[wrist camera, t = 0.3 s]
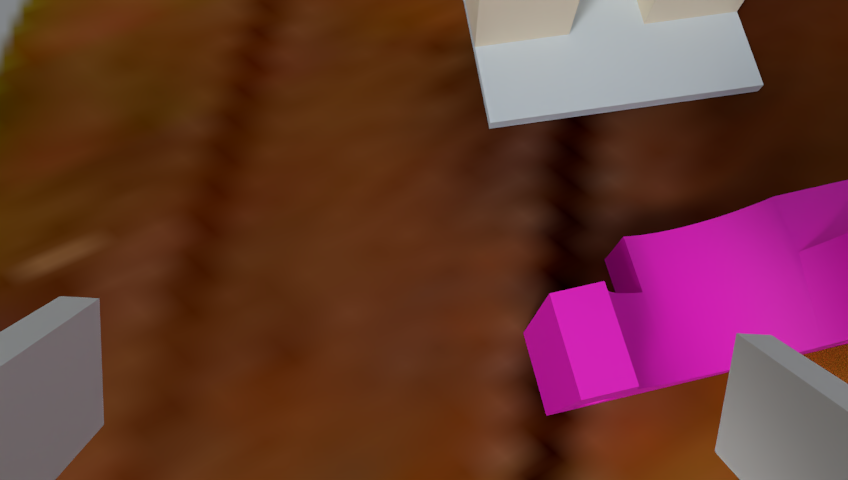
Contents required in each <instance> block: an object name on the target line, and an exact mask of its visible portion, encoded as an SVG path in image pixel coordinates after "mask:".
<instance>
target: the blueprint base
mask: <svg viewBox="0 0 848 480" xmlns="http://www.w3.org/2000/svg"><path fill="white" fill-rule="evenodd" d="M463 1H464V6H465V11H466V16H467V21H468V26H469V31H470V36H471V41H472V46H473V51H474V55H475V60H476V65H477V70H478V75H479V80H480V85H481V90H482V95H483V100H484V105H485V110H486V115H487V120H488V125H489V129H491V128H498V127H506V126H513V125H520V124H527V123H534V122H541V121H548V120H556V119H563V118H570V117H577V116H584V115H591V114H599V113H606V112H613V111H620V110H627V109H634V108H641V107H649V106H656V105H663V104H670V103H677V102H684V101H692V100H699V99H706V98H713V97H720V96H727V95H734V94H742V93H749V92H756V91H759V90H760V88H761V87H762V86H763V85H764V84H763V82H762V79H761V76H760V73H759V71H758V68H757V65H756V62H755V60H754V57H753V54H752V51H751V49H750V46H749V43H748V40H747V38H746V35H745V32H744V29H743V27H742V24H741V21H740V18H739V16H738V13H737V11H738V9H739V8H740V6H741V5H742V3H743V2H744V0H463Z"/></svg>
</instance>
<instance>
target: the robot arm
mask: <svg viewBox="0 0 848 480" xmlns="http://www.w3.org/2000/svg"><path fill="white" fill-rule="evenodd" d="M103 425H104V413H103V385H102V358H101V330H100V303H99V298H82V297H63V296H60V297H58V298H56V299H55V300H53V301H51V302H50V303H48V304H46V305H45V306H43V307H41V308H40V309H38V310H36V311H35V312H33V313H31V314H30V315H28V316H26V317H25V318H23V319H21V320H20V321H18V322H16V323H15V324H13V325H11V326H10V327H8V328H6V329H5V330H3V331H1V332H0V480H55V479H56V478H57V477H58V476H59V475H60V474H61V472H62V471H63V470H64V469H65V468H66V467H67V466H68V465H69V463H70V462H71V461H72V460H73V459H74V458H75V457H76V455H77V454H78V453H79V452H80V451H81V450H82V449H83V448H84V446H85V445H86V444H87V443H88V442H89V441H90V440H91V439H92V437H93V436H94V435H95V434H96V433H97V432H98V431H99V430H100V428H101V427H102V426H103ZM715 452H716V453H717V455H718V456H719V457H720V458H721V459H722V460H723V461H724V462H725V464H726V465H727V466H728V467H729V468H730V469H731V470H732V471H733V473H734V474H735V475H736V476H737V477H738V478H739V479H740V480H848V384H847V383H845V382H844V381H842V380H841V379H839V378H838V377H836V376H834V375H833V374H831V373H830V372H828V371H827V370H825V369H824V368H822V367H820V366H819V365H817V364H816V363H814V362H813V361H811V360H810V359H808V358H806V357H805V356H803V355H802V354H800V353H799V352H797V351H796V350H794V349H792V348H791V347H789V346H788V345H786V344H785V343H783V342H782V341H780V340H778V339H777V338H775V337H774V336H772V335H760V334H742V333H736V339H735V344H734V350H733V355H732V360H731V366H730V371H729V377H728V382H727V388H726V393H725V399H724V404H723V410H722V415H721V420H720V426H719V431H718V437H717V442H716V448H715Z"/></svg>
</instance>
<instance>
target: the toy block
mask: <svg viewBox="0 0 848 480" xmlns="http://www.w3.org/2000/svg"><path fill="white" fill-rule="evenodd" d="M605 263H606V266H607V269H608V272H609V275H610V278H611V281H612V284H613V287H614V290H615V293H614V292H610V291H608V290H607V287H606V283H605V281H602V282H597V283H593V284H589V285H584V286H580V287H575V288H571V289H567V290H562V291H558V292H554V293H549V295H548V296H547V298H546V299H545V301H544V302H543V304H542V305H541V307H540V308H539V310H538V311H537V313H536V314H535V316H534V318H533V319H532V321H531V322H530V324H529V325H528V327H527V328H526V330H525V331H524V333H523V334H524V337H525V341H526V344H527V348H528V351H529V355H530V359H531V362H532V366H533V369H534V373H535V376H536V380H537V384H538V387H539V391H540V394H541V398H542V401H543V405H544V409H545V412H546V416H548V415H552V414H556V413H560V412H564V411H569V410H573V409H577V408H581V407H585V406H590V405H594V404H598V403H602V402H606V401H610V400H615V399H619V398H623V397H627V396H631V395H635V394H640V393H644V392H648V391H652V390H656V389H660V388H665V387H669V386H673V385H677V384H681V383H685V382H690V381H694V380H698V379H702V378H706V377H711V376H715V375H719V374H723V373H727V372H729V371H730V366H731V360H732V355H733V350H734V344H735V339H736V333H742V334H760V335H772V336H774V337H775V338H777V339H778V340H780V341H782V342H783V343H785V344H786V345H788V346H789V347H791V348H792V349H794V350H796V351H797V352H799V353H800V354H806V353H811V352H815V351H819V350H823V349H827V348H831V347H836V346H840V345H844V344H848V180H844V181H840V182H835V183H831V184H827V185H822V186H818V187H813V188H809V189H804V190H800V191H795V192H791V193H787V194H782V195H778V196H774V197H771V198H769V199H766V200H764V201H761V202H759V203H756V204H754V205H751V206H748V207H746V208H743V209H740V210H737V211H735V212H732V213H729V214H726V215H723V216H720V217H717V218H713V219H710V220H707V221H703V222H700V223H696V224H693V225H689V226H685V227H681V228H676V229H672V230H667V231H662V232H657V233H651V234H645V235H636V236H624V237H623V238H622V239H621V240H620V241H619V243H618V244H617V245H616V246H615V247H614V249H613V250H612V251H611V252H610V254H609V255H608V256H607V257H606V258H605Z"/></svg>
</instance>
